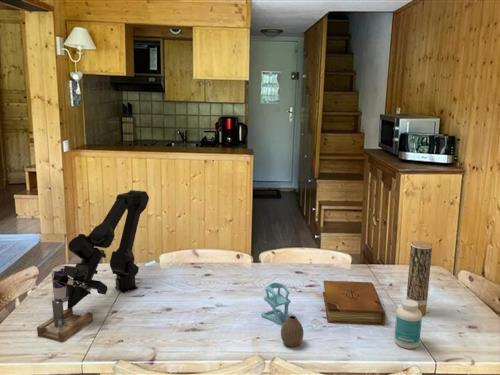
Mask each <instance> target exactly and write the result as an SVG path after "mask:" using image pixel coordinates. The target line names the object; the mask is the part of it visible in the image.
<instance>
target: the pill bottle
mask: <svg viewBox="0 0 500 375" xmlns="http://www.w3.org/2000/svg"><path fill="white" fill-rule="evenodd" d="M422 321H423V315H422V313H421V311H420V310H419V309H418V303H417V302H416V301H413V300H406V299H403V300H402V301H401V306H399V307H398V308H397V309H396V312H395V326H394V327H395V328H394V336H393V337H394V339H393V340H394V342H395V344H396V345H397V346H399V347H400V348H403V349H407V350H411V349H416V348H418V347H419V346H420V344H421V333H422V332H421V331H422Z"/></svg>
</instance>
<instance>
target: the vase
mask: <svg viewBox="0 0 500 375" xmlns="http://www.w3.org/2000/svg"><path fill="white" fill-rule="evenodd" d="M280 338H281V340H282V342H283V343H284V344H285V345H286V346H287V347H289V348H295V347H298V346H299V345H300V344H301V343H302V341H303V338H304V328H303V325H302V324H301V321H299V320H298V318H297V317H296V315H289V316H288V318H287V320H286V321H285V322H284V321H283V324H281V328H280Z"/></svg>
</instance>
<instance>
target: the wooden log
mask: <svg viewBox="0 0 500 375" xmlns="http://www.w3.org/2000/svg"><path fill="white" fill-rule="evenodd" d="M432 253H433V244H432V243H430V242H428V241H423V240H413V241H411V243H410V251H409V261H408V262H409V263H408V265H409V266H408V273H407V274H408V275H407V276H408V277H407V286H406V287H407V288H406V299H405V300H413V301H416V302H417V303H418V309H419V310H420V311H421V313H422V316H424V315H425V314H426V313H427V308H428V297H429V296H428V295H429V283H430V273H431V265H432V264H431V263H432Z"/></svg>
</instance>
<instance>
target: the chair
mask: <svg viewBox="0 0 500 375" xmlns="http://www.w3.org/2000/svg"><path fill="white" fill-rule="evenodd" d="M281 288H282V289H283V290H284V291H285V292H286V295H283V294H281ZM274 289H277V293H276V292H275V290H274ZM264 290H265V293H266V296H265V297H263V300H264V301H265V302H266V303H268V304H269V305H270V308H271V309H272V310H269V311H265V312H262V313H260V316H261V317H262V318H264V319H266V320H269V321H271V322H274V323H276V324H278V325H283V324H282V320H283V323H284V322H285V321H286V320H287V319H288V317H289V316H288V315H289V304H291V299H289V294H290V293H291V292H290V290H289V289H288V287H287V286H286V285H285V284H282V283H280V282H272V283H270V284H268V285H266V287H265V289H264ZM270 294H272V295H270ZM282 305H284V312H283V311H282V309H281V308H278V307H280V306H282ZM278 313H279V314H278ZM272 314H274V315H275V317H273V316H270V315H272Z"/></svg>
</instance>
